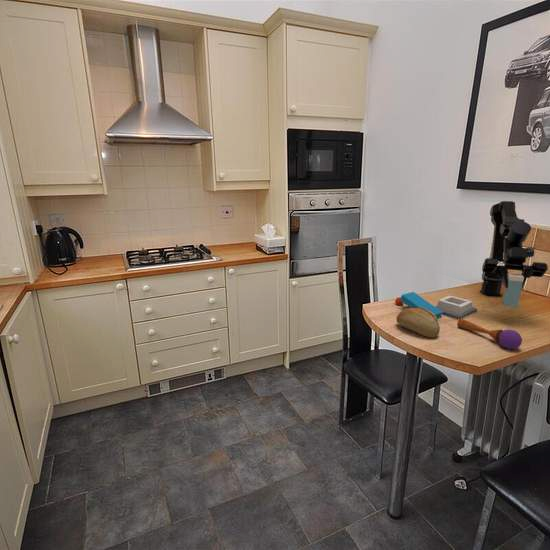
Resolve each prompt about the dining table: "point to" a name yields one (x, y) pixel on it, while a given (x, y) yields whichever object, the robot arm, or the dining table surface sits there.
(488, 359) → the dining table surface
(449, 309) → the board
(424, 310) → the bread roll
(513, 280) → the box with white lid
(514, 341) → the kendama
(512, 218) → the robot arm
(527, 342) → the dining table surface
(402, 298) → the blue long block
